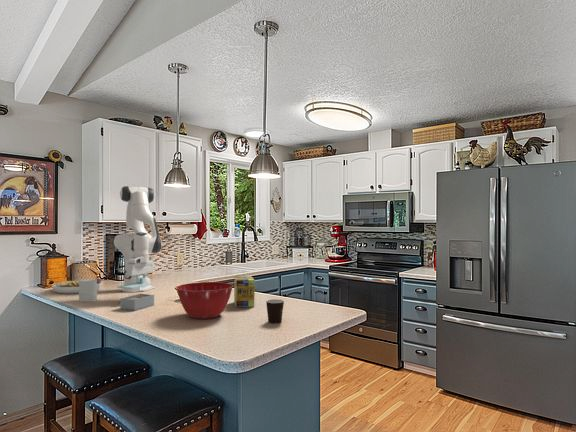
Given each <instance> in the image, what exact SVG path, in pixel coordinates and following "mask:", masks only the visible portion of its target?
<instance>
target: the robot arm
mask: <svg viewBox="0 0 576 432" xmlns="http://www.w3.org/2000/svg"><path fill="white" fill-rule="evenodd" d="M155 195H156V194H155V190H154V189H153V188H151V187H145V186H140V185H139V186H128V185H127V186H125V185H124V186H123V187H121V189H120V192H119V196H120V199H121V201H123V202H127V205H126V217H125V218H126V219H125V224H126V226H127V227H128V228H129V229H131V230H134V233H120V234H117V235H116V236H115V237H114V239H113V245H114V247H115V248H116V249H117V250H118V251H119V252H120V253H121V254H122V255H123V260H124V271H123V275H124V278H123V284H122V285H127V284H132V283H136V279H137V282H141V279H139V277H143V278H146V283H151V285H147V286H143V287H138V288H134V289H126V288H121V290H122V292H124V293H125V292H126V293H127V292H128V293H134V292H136V293H137V292H146V291H149V290H152V289H155V288H156V287H155V286H154V285H152V279H150V278H149V277H148V276H147V275H148V274H154V273H155V263H154V259H153V258H151V257H150V254H158V253H159V252H161V250H162V248H163V243H162V239H161V236H160V233H159V232H160V231H159V229H158V223H157V219H156V216H155V215H154V214H153V213H152V212H151V211H150V207H149V206H150V205H149V204H150V203H152V202H153V201H154V200H155ZM144 223H145V224H146V225H148V226H149V227H150V232H151V234H150V233H149V232H148V231H147V230H146V229H145V225H144Z"/></svg>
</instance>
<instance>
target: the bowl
mask: <svg viewBox="0 0 576 432" xmlns="http://www.w3.org/2000/svg"><path fill="white" fill-rule="evenodd" d="M96 279H97V291H98V290H99V289H100V288H101V287H102V285H103V281H101V279H100V278H96ZM79 281H80V280H67V281H62V282H56V283H53V284H52V285H51V288H52V290H53V292H55V293H57V294H62V295H65V294H67V295H73V294H75V295H76V294H79Z"/></svg>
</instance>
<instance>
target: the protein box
mask: <svg viewBox="0 0 576 432" xmlns="http://www.w3.org/2000/svg"><path fill="white" fill-rule="evenodd" d="M255 282H256V281H255V279H254V277H252V276H250V275H248V276H243V275H242V276H234V285H233V288H234V290H233V291H234V294H233V295H234V296H233V297H234V298H233V300H234V301H233V303H234V305H235V308H237V309H239V308H241V309H243V308H255V289H256V287H255Z"/></svg>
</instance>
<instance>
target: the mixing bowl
mask: <svg viewBox="0 0 576 432" xmlns="http://www.w3.org/2000/svg"><path fill="white" fill-rule="evenodd" d="M233 288H234V285H233V284H232V283H227V282H221V281H220V282H218V281H217V282H216V281H214V282H213V281H204V282H203V281H202V282H191V283H190V282H189V283H183V284H180V285H177V286H176V290H177V294H178V298H179V300H180V304H181V306H182V307H183V309H184V311H185V313H186V314H187V315H188V316H189V317H191V318H193V319H197V320H199V319H200V320H203V319H204V320H205V319H206V320H207V319H213V318H217V317H219V315H221V314H222V313H223V312H224V311H225V309H226V307H227V305H228V302H229V300H230V298H231V294H232V291H233Z"/></svg>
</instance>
